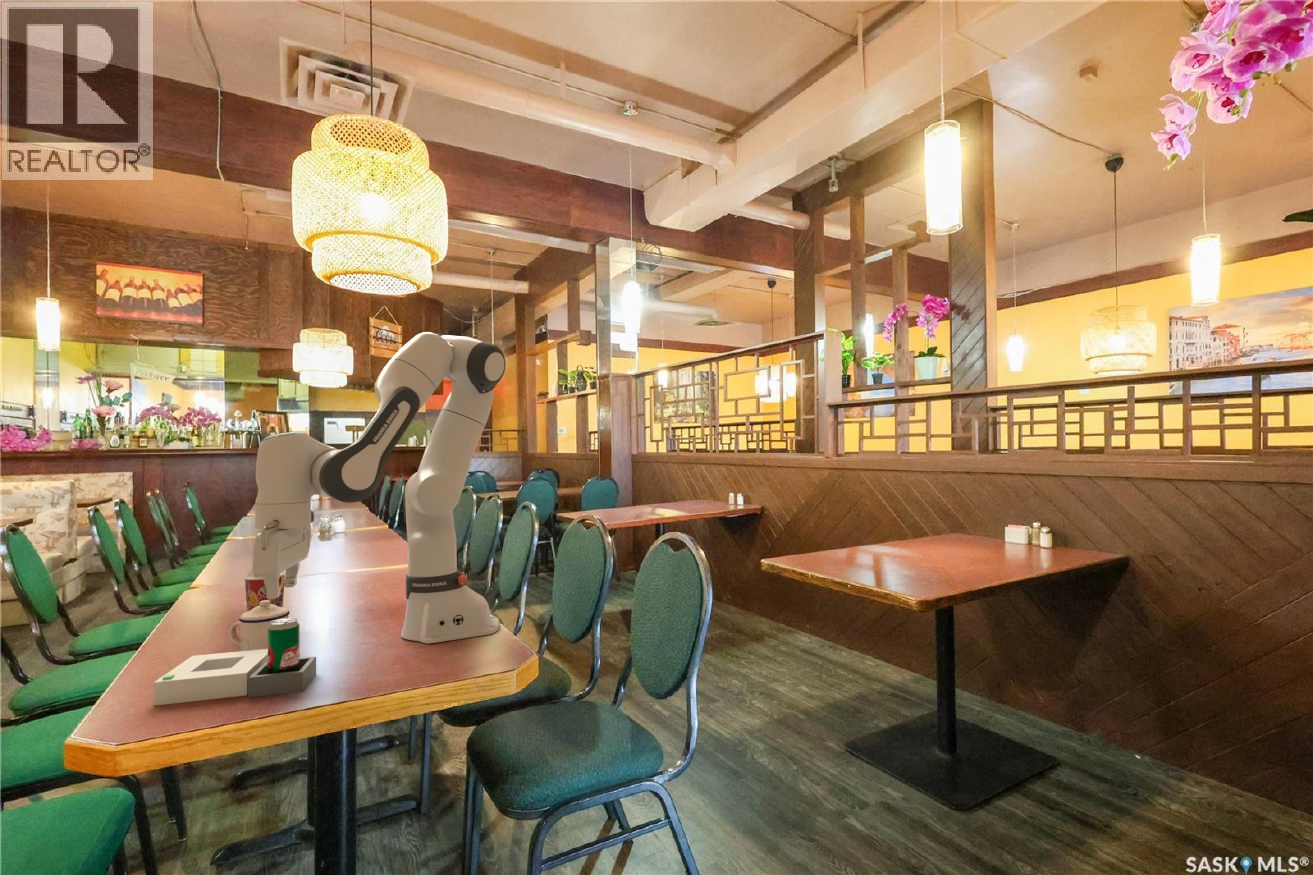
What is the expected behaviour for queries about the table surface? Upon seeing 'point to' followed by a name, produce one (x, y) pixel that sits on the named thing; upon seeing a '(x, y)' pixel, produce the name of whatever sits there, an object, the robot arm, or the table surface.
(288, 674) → the grey square tray
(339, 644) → the table surface
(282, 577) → the smoothie
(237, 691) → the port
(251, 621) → the teacup with lid
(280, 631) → the soda can
